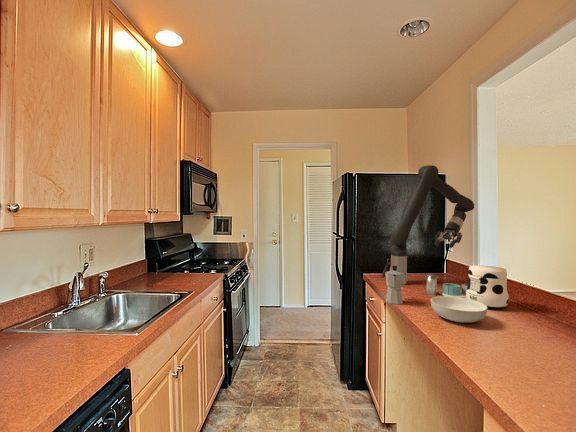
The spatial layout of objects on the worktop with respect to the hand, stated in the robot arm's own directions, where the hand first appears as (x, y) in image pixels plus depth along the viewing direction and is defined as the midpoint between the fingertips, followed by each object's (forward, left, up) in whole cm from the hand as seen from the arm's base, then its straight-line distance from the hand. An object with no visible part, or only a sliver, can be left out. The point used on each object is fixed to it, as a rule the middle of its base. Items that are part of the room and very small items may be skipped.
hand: (443, 246), depth 182 cm
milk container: (+7, -31, -25) cm, 40 cm away
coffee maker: (-36, -26, -25) cm, 51 cm away
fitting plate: (+3, -14, -25) cm, 29 cm away
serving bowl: (-17, -50, -25) cm, 59 cm away
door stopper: (-21, +34, -25) cm, 47 cm away
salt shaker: (-11, -10, -25) cm, 29 cm away
